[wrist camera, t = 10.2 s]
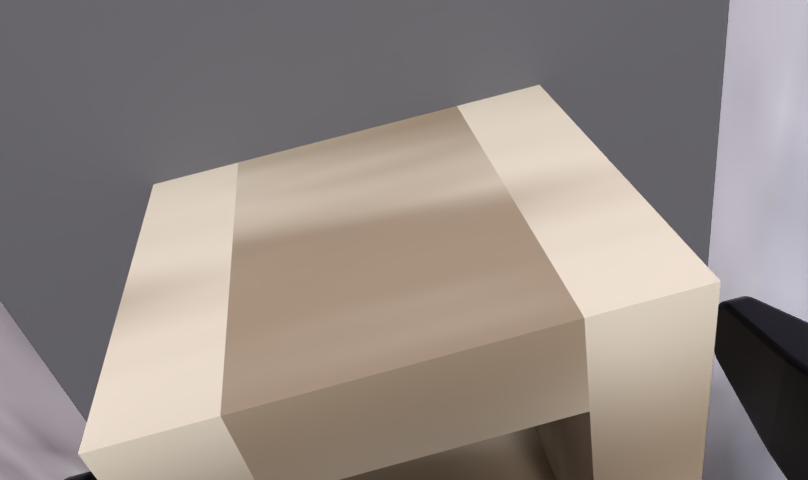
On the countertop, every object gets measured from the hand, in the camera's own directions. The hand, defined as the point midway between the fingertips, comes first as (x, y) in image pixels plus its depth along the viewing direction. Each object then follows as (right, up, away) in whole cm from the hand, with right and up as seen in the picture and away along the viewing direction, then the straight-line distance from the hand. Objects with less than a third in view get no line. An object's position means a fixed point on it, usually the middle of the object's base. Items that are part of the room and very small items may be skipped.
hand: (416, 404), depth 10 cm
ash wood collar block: (0, +2, +2) cm, 3 cm away
